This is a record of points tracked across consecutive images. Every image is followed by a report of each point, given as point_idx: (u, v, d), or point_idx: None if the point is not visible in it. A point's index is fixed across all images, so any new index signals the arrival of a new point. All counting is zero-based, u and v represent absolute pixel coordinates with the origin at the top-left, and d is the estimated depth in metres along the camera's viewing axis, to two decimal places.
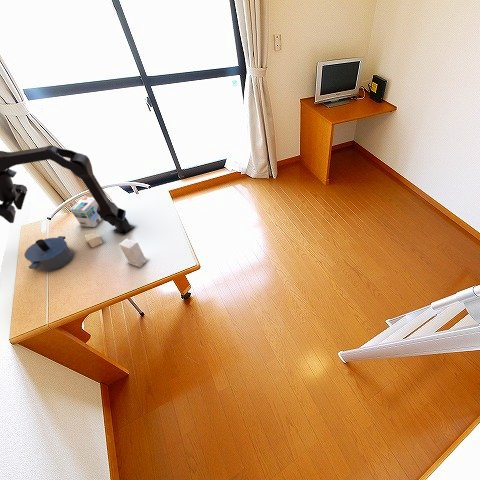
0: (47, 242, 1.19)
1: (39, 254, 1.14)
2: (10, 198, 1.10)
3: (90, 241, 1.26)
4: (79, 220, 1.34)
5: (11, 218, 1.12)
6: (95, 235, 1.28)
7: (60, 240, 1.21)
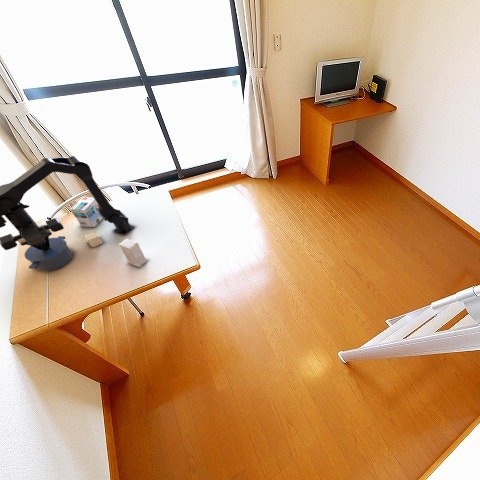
0: None
1: (39, 254, 1.14)
2: None
3: (90, 241, 1.26)
4: (79, 220, 1.34)
5: None
6: (95, 235, 1.28)
7: (60, 240, 1.21)
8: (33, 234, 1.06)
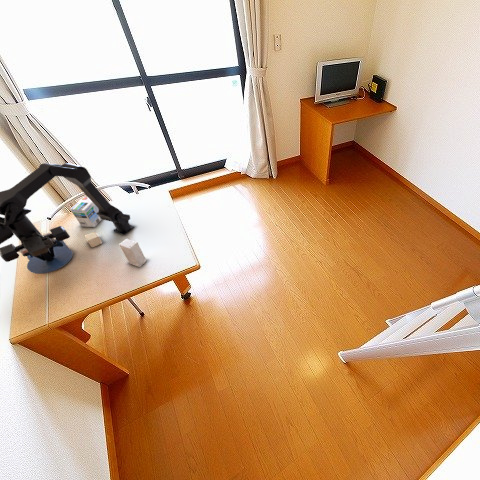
0: None
1: (42, 265, 1.05)
2: None
3: (90, 241, 1.26)
4: (79, 220, 1.34)
5: None
6: (95, 235, 1.28)
7: (65, 249, 1.11)
8: (36, 244, 0.96)
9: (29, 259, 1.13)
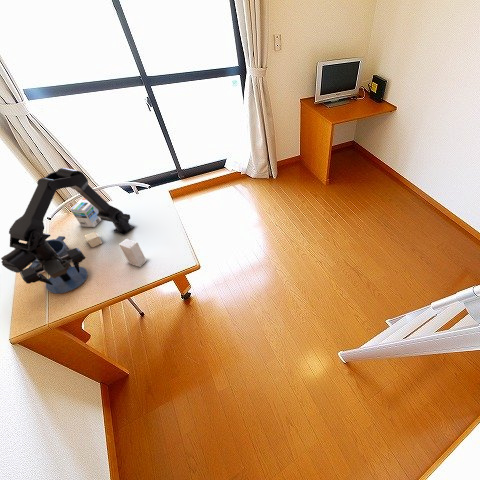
0: (68, 271, 1.16)
1: (60, 285, 1.11)
2: None
3: (90, 241, 1.26)
4: (79, 220, 1.34)
5: None
6: (95, 235, 1.28)
7: (81, 269, 1.18)
8: (56, 267, 1.03)
9: None
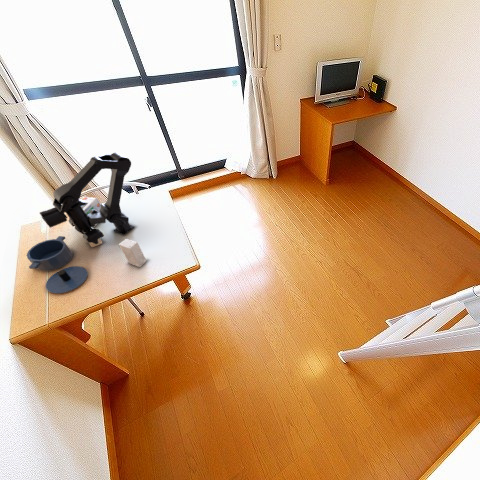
0: (68, 271, 1.16)
1: (60, 285, 1.11)
2: None
3: None
4: None
5: None
6: None
7: (81, 269, 1.18)
8: (97, 214, 1.26)
9: (29, 259, 1.13)
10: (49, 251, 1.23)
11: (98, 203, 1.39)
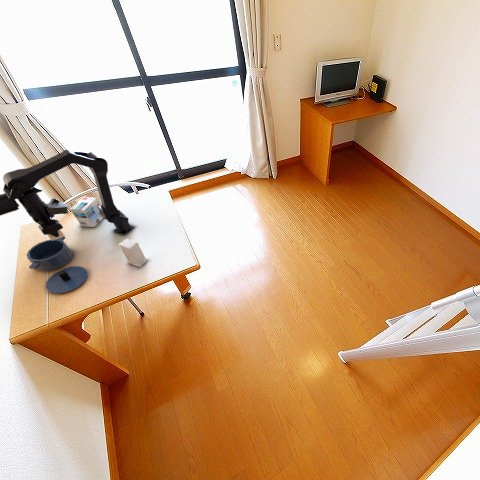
0: (68, 271, 1.16)
1: (60, 285, 1.11)
2: None
3: None
4: (79, 220, 1.34)
5: None
6: None
7: (81, 269, 1.18)
8: (58, 204, 1.12)
9: (29, 259, 1.13)
10: (49, 251, 1.23)
11: (98, 203, 1.39)
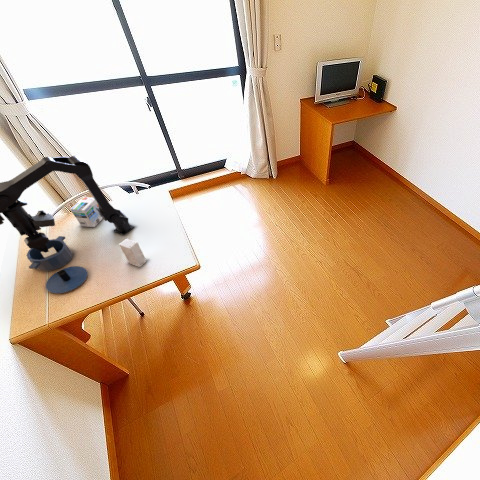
0: (68, 271, 1.16)
1: (60, 285, 1.11)
2: None
3: None
4: (79, 220, 1.34)
5: None
6: (53, 251, 1.19)
7: (81, 269, 1.18)
8: (45, 216, 1.11)
9: (29, 259, 1.13)
10: None
11: None
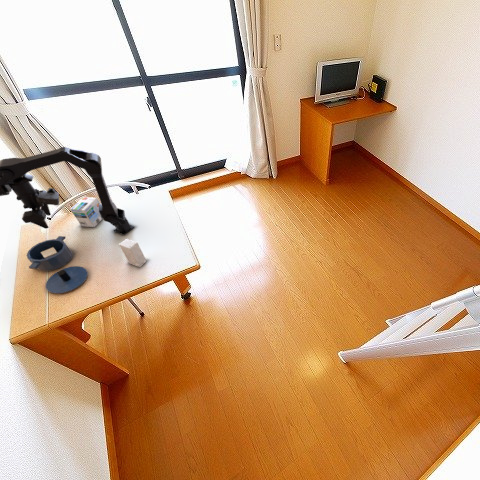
0: (68, 271, 1.16)
1: (60, 285, 1.11)
2: None
3: None
4: (79, 220, 1.34)
5: None
6: (53, 251, 1.19)
7: (81, 269, 1.18)
8: (51, 195, 1.15)
9: (29, 259, 1.13)
10: None
11: (98, 203, 1.39)
